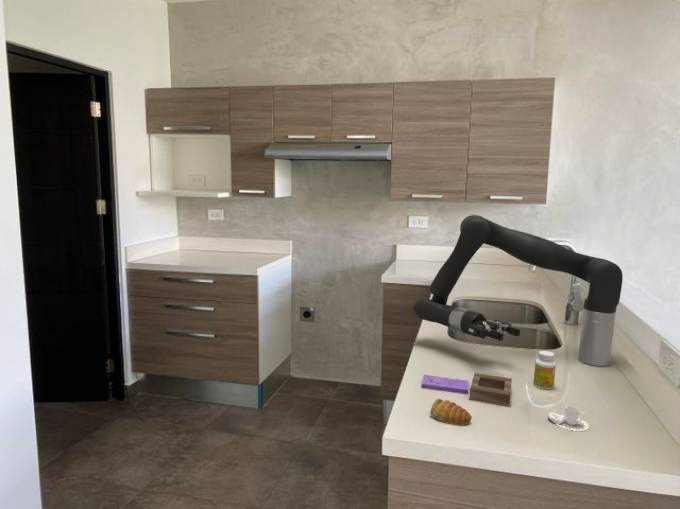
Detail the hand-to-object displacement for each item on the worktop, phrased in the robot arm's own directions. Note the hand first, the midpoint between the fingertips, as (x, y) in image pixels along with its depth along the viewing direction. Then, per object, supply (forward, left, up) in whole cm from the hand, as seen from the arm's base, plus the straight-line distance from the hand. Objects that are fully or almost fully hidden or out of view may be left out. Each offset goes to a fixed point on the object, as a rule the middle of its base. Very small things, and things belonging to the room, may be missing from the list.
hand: (511, 335), depth 152 cm
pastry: (+36, -12, -12) cm, 40 cm away
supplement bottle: (+6, +10, -12) cm, 17 cm away
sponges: (+18, -16, -13) cm, 27 cm away
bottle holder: (+18, -4, -12) cm, 22 cm away
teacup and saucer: (+25, +14, -12) cm, 31 cm away
